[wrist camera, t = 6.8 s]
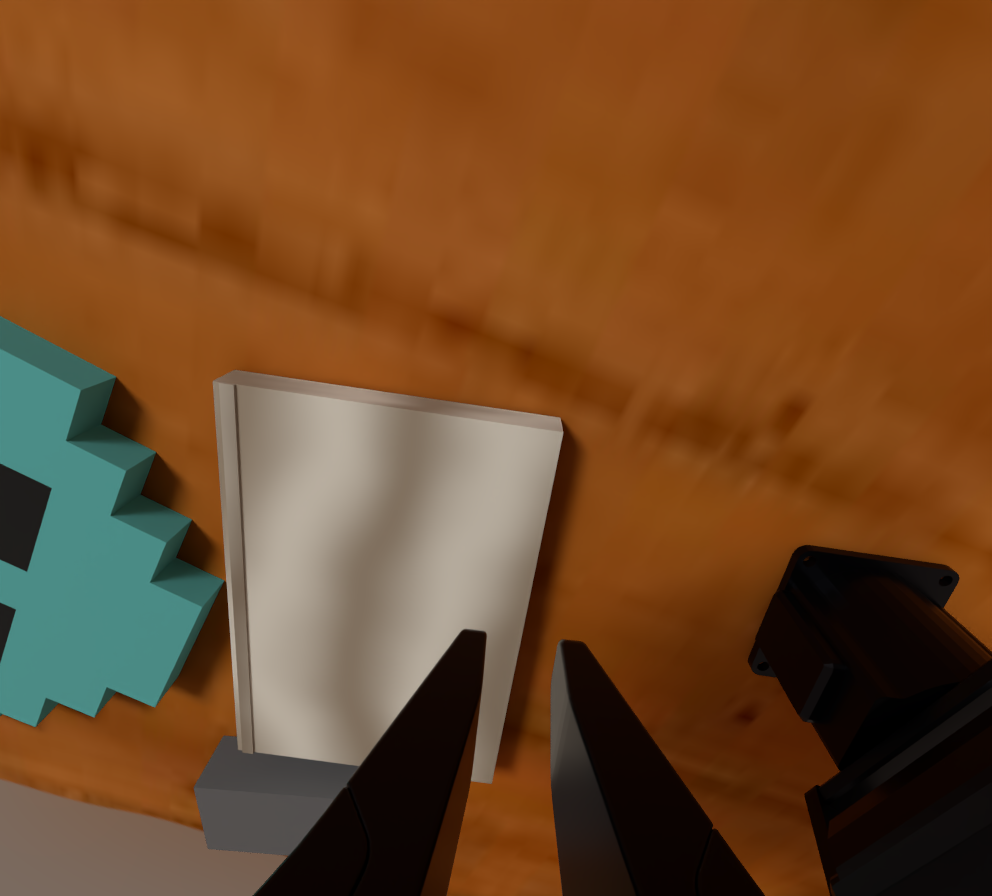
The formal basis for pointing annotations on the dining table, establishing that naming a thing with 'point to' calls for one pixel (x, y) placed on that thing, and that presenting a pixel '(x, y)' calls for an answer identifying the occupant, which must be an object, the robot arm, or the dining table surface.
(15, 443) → the alien figure
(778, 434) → the dining table surface
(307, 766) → the block
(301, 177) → the dining table surface
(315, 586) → the white flat slab
